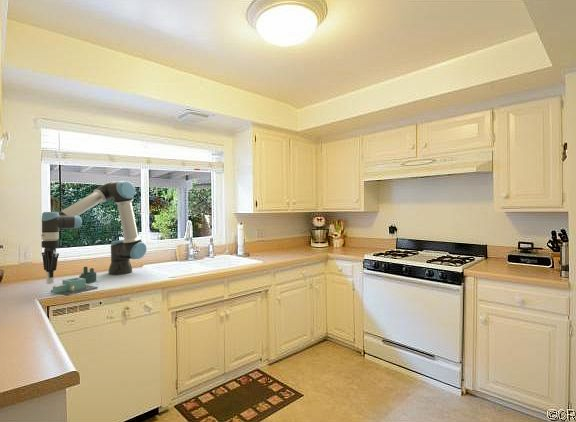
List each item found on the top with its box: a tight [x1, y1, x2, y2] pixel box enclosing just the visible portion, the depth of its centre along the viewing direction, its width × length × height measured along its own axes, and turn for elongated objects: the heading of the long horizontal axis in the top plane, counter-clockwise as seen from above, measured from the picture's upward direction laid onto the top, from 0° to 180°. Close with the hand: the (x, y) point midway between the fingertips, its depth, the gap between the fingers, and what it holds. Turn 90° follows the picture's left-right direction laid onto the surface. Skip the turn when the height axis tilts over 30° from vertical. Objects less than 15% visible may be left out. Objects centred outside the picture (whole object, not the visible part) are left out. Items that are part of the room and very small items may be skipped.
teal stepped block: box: [52, 276, 87, 294], centre depth 176 cm, size 14×8×5 cm, turn 152°
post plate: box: [50, 284, 98, 296], centre depth 179 cm, size 16×16×5 cm
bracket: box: [78, 266, 97, 284], centre depth 200 cm, size 9×9×9 cm
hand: (49, 283), depth 175 cm, fingers closed
